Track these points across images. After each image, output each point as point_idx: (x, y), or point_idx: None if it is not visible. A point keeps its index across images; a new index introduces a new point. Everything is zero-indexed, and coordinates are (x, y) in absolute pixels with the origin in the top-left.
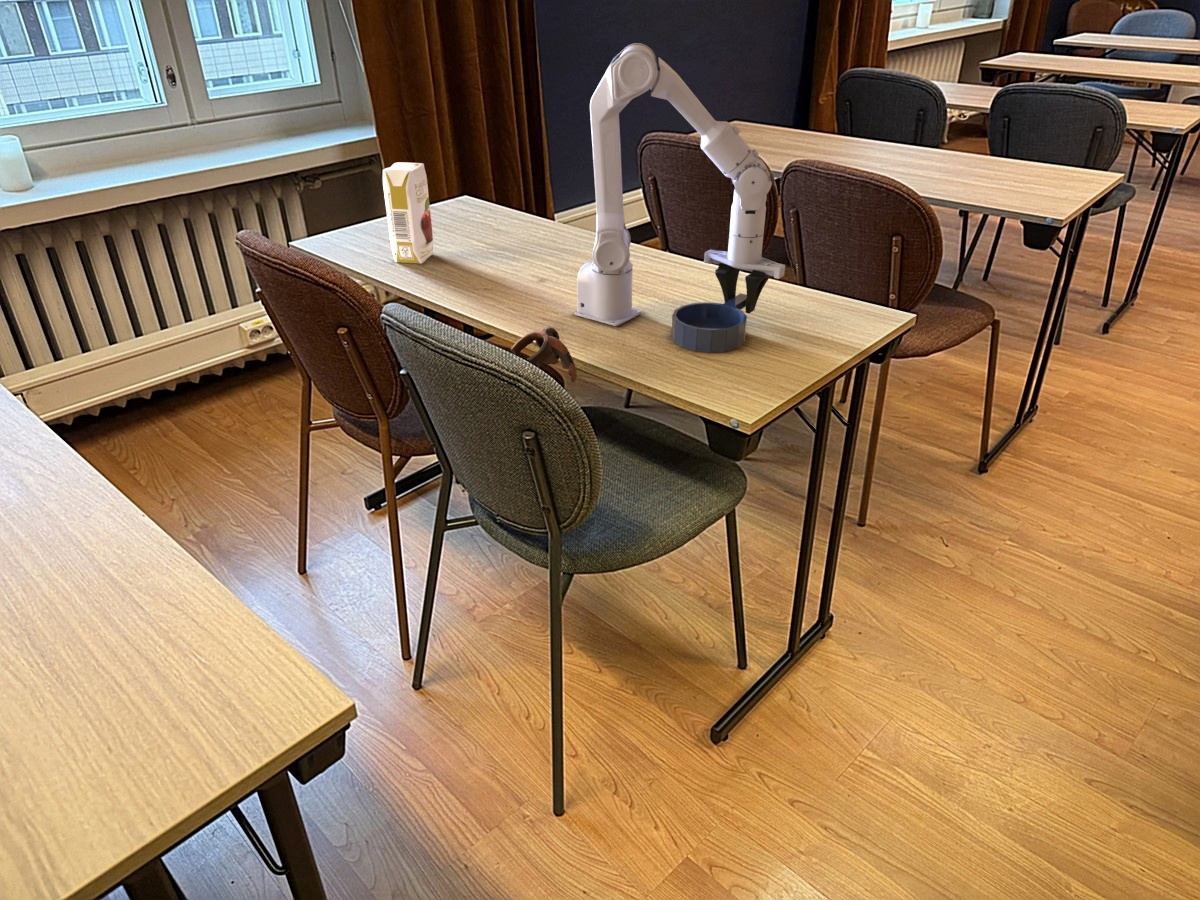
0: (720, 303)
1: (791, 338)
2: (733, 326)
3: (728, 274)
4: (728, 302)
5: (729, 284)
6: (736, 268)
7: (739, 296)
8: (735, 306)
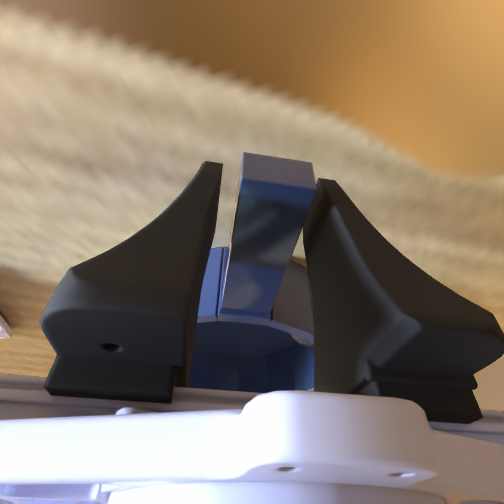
0: (214, 314)
1: (477, 248)
2: (313, 391)
3: (188, 380)
4: (235, 290)
5: (198, 304)
6: (189, 343)
7: (254, 223)
8: (274, 300)
